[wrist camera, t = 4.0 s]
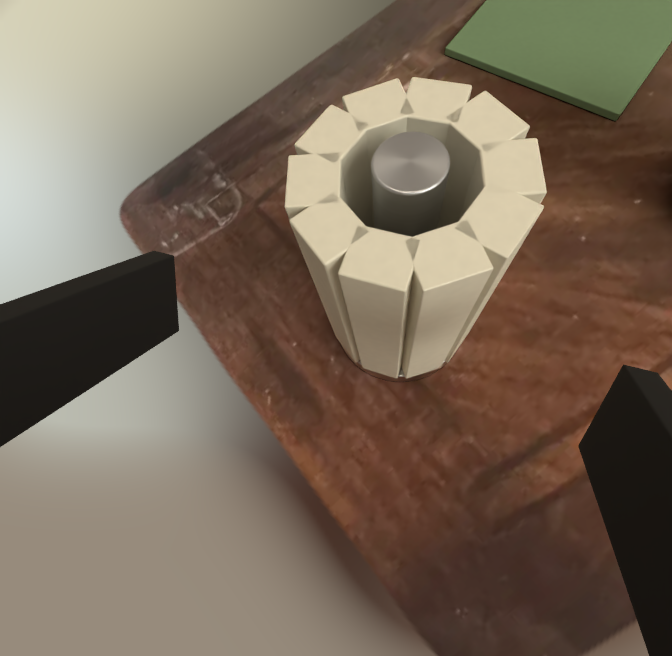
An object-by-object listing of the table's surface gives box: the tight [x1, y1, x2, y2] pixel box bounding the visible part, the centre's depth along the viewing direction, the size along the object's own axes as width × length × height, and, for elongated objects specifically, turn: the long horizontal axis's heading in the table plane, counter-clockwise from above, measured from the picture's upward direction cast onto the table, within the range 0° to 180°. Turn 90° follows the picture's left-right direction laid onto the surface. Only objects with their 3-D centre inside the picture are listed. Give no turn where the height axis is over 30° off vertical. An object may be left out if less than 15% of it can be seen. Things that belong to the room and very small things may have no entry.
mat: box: [445, 0, 672, 121], centre depth 31 cm, size 14×14×1 cm
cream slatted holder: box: [285, 77, 547, 379], centre depth 18 cm, size 8×8×12 cm
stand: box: [341, 132, 457, 382], centre depth 19 cm, size 8×8×14 cm
